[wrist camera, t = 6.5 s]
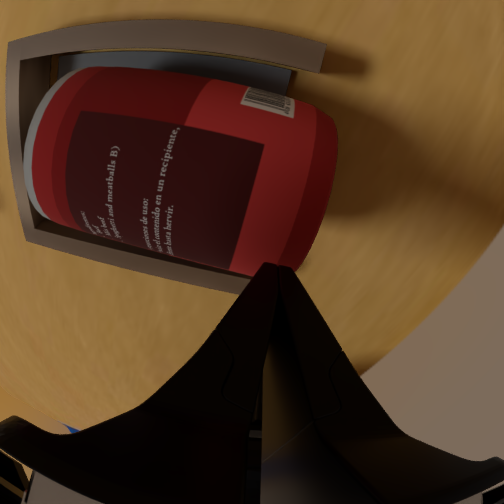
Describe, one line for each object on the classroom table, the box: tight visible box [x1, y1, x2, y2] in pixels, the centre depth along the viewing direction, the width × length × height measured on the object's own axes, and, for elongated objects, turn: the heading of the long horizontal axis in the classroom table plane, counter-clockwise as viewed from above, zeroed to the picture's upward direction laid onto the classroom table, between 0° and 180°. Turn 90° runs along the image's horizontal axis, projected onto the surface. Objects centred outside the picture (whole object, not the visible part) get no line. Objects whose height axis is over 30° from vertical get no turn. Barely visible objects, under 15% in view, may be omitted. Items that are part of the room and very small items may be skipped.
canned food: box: [23, 66, 338, 276], centre depth 12 cm, size 8×8×11 cm
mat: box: [57, 51, 292, 96], centre depth 16 cm, size 11×14×1 cm
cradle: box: [6, 20, 327, 295], centre depth 14 cm, size 14×17×3 cm
